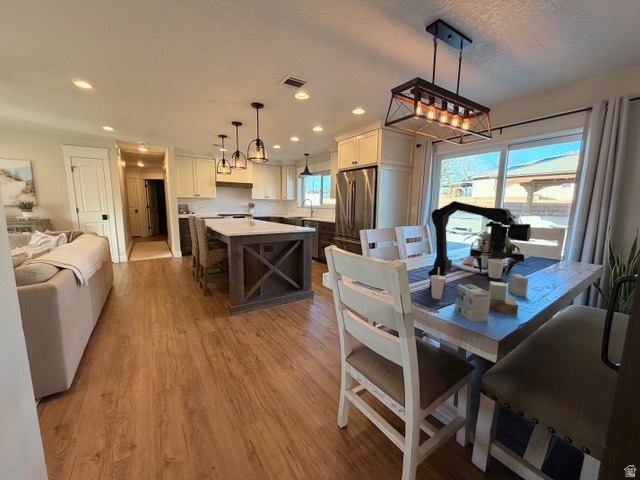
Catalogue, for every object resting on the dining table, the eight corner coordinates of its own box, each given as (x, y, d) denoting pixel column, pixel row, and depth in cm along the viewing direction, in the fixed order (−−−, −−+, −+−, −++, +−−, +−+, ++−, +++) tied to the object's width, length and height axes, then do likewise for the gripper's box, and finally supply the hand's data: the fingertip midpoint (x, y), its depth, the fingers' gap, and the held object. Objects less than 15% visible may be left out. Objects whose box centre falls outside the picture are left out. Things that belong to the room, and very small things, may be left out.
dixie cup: (506, 278, 149) (508, 261, 147) (495, 279, 146) (497, 262, 145) (493, 274, 157) (495, 258, 155) (482, 275, 154) (484, 259, 153)
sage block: (490, 298, 106) (492, 284, 105) (488, 294, 110) (490, 281, 109) (505, 300, 104) (506, 286, 103) (502, 296, 108) (504, 283, 107)
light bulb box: (453, 309, 104) (456, 284, 103) (469, 309, 105) (472, 283, 103) (471, 322, 94) (474, 293, 92) (488, 321, 94) (492, 293, 93)
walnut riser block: (480, 309, 105) (481, 300, 104) (477, 299, 115) (478, 291, 115) (516, 315, 99) (518, 305, 99) (510, 304, 110) (511, 295, 110)
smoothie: (444, 296, 119) (446, 266, 117) (444, 301, 113) (447, 270, 111) (429, 294, 121) (431, 265, 119) (428, 298, 116) (431, 268, 113)
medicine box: (526, 296, 120) (528, 278, 119) (515, 295, 121) (517, 278, 120) (517, 291, 128) (519, 274, 127) (507, 290, 129) (509, 273, 128)
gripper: (473, 238, 105) (469, 275, 108) (530, 243, 97) (524, 283, 99) (471, 235, 115) (467, 269, 118) (523, 239, 107) (518, 275, 109)
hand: (493, 274), depth 111 cm, fingers open, 9 cm apart
